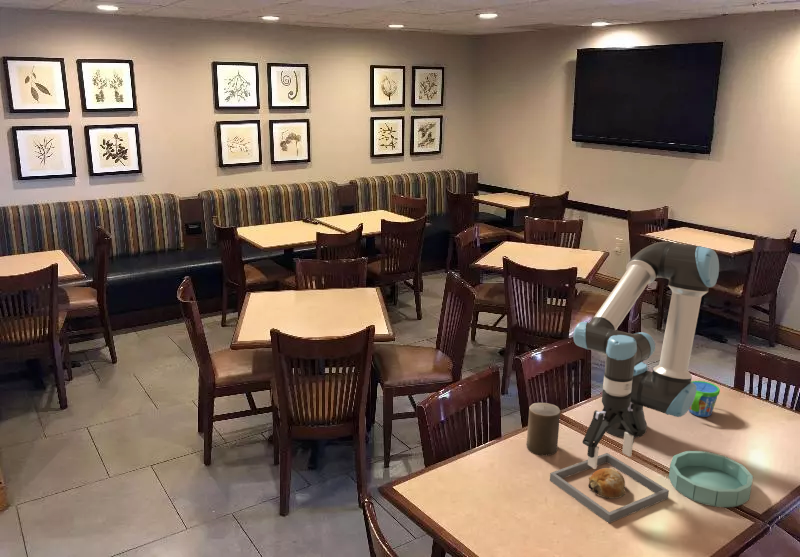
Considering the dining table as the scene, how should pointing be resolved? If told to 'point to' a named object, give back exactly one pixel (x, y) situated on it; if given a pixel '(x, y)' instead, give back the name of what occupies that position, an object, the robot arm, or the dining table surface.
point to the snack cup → (704, 398)
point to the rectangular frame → (608, 516)
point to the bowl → (710, 478)
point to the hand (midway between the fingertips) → (609, 460)
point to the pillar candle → (543, 428)
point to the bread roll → (607, 483)
